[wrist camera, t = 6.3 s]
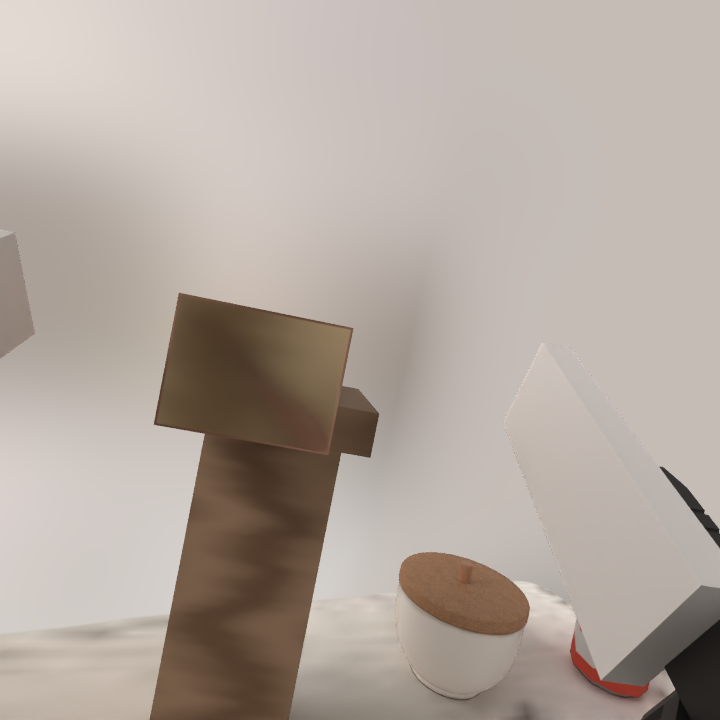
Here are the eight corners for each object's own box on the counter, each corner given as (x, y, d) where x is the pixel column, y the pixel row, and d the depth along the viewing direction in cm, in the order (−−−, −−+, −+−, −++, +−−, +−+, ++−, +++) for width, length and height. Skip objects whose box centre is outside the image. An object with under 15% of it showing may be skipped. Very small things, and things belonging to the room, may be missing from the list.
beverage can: (556, 663, 42) (582, 538, 42) (589, 647, 46) (613, 533, 46) (624, 713, 37) (654, 571, 37) (655, 690, 41) (682, 562, 41)
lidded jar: (467, 630, 45) (486, 538, 44) (539, 720, 34) (564, 602, 34) (367, 629, 41) (386, 531, 41) (413, 729, 31) (440, 598, 31)
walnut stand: (76, 882, 19) (173, 375, 19) (164, 688, 30) (227, 364, 30) (282, 899, 20) (378, 413, 20) (295, 704, 31) (358, 389, 31)
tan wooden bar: (153, 424, 10) (179, 293, 10) (270, 368, 34) (277, 328, 34) (328, 455, 11) (353, 328, 11) (322, 378, 35) (330, 339, 35)
